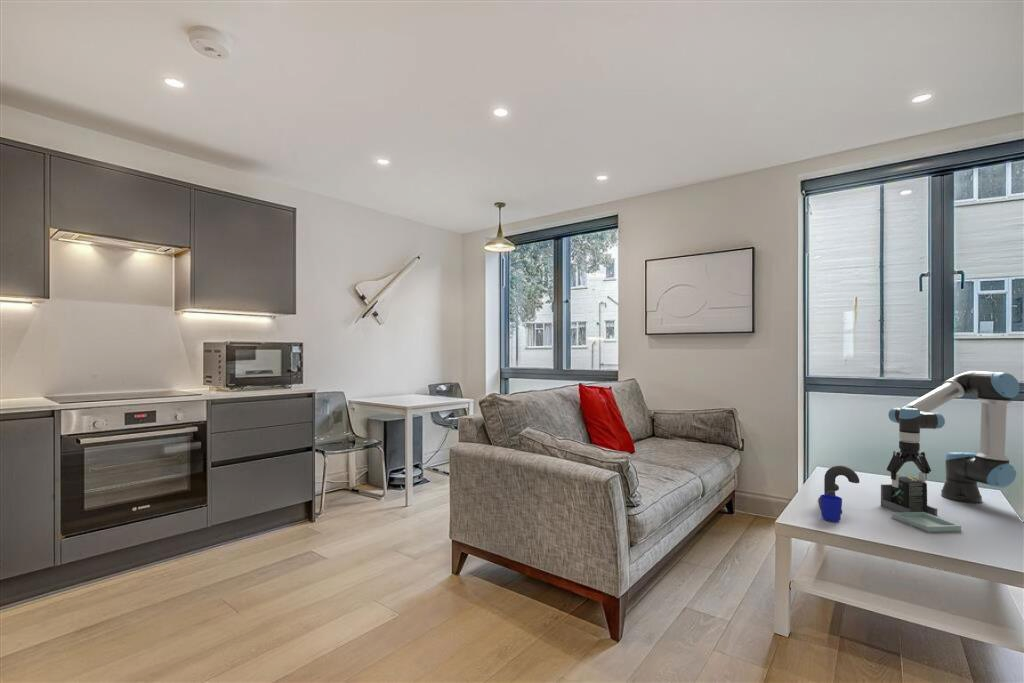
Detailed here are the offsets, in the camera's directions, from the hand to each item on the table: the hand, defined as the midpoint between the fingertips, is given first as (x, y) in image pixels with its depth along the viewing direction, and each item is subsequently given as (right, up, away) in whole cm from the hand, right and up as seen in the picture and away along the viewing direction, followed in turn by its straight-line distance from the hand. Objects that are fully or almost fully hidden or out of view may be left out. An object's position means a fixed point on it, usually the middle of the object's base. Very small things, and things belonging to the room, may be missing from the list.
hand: (908, 486), depth 227 cm
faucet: (-30, -11, +3) cm, 32 cm away
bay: (0, -11, 0) cm, 11 cm away
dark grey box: (0, -11, 0) cm, 11 cm away
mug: (-44, -11, -11) cm, 47 cm away
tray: (-7, -11, -18) cm, 22 cm away
